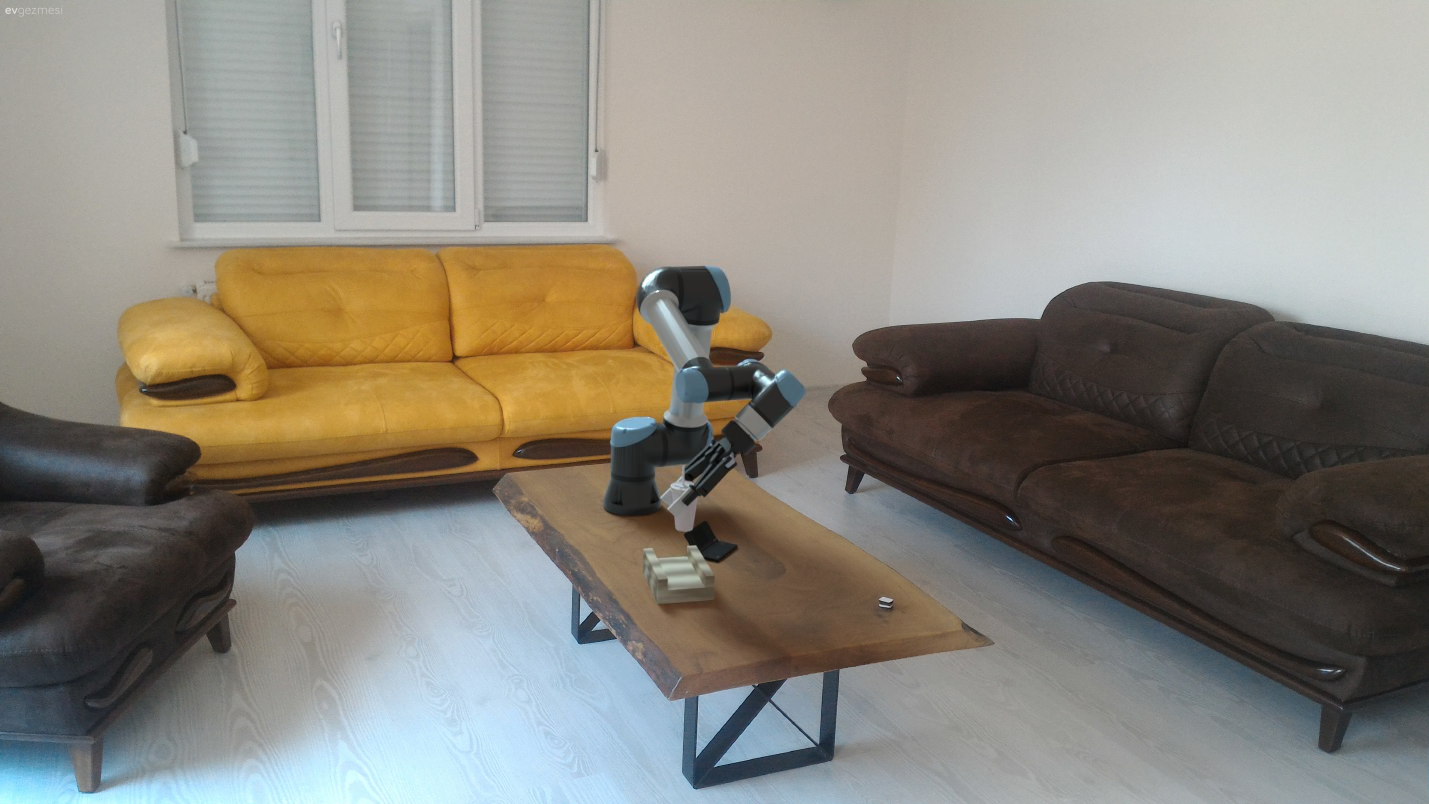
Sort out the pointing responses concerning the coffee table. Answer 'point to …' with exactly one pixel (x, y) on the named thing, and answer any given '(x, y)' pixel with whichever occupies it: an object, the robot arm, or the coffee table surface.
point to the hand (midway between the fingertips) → (668, 507)
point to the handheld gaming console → (708, 543)
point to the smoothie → (687, 516)
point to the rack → (679, 577)
